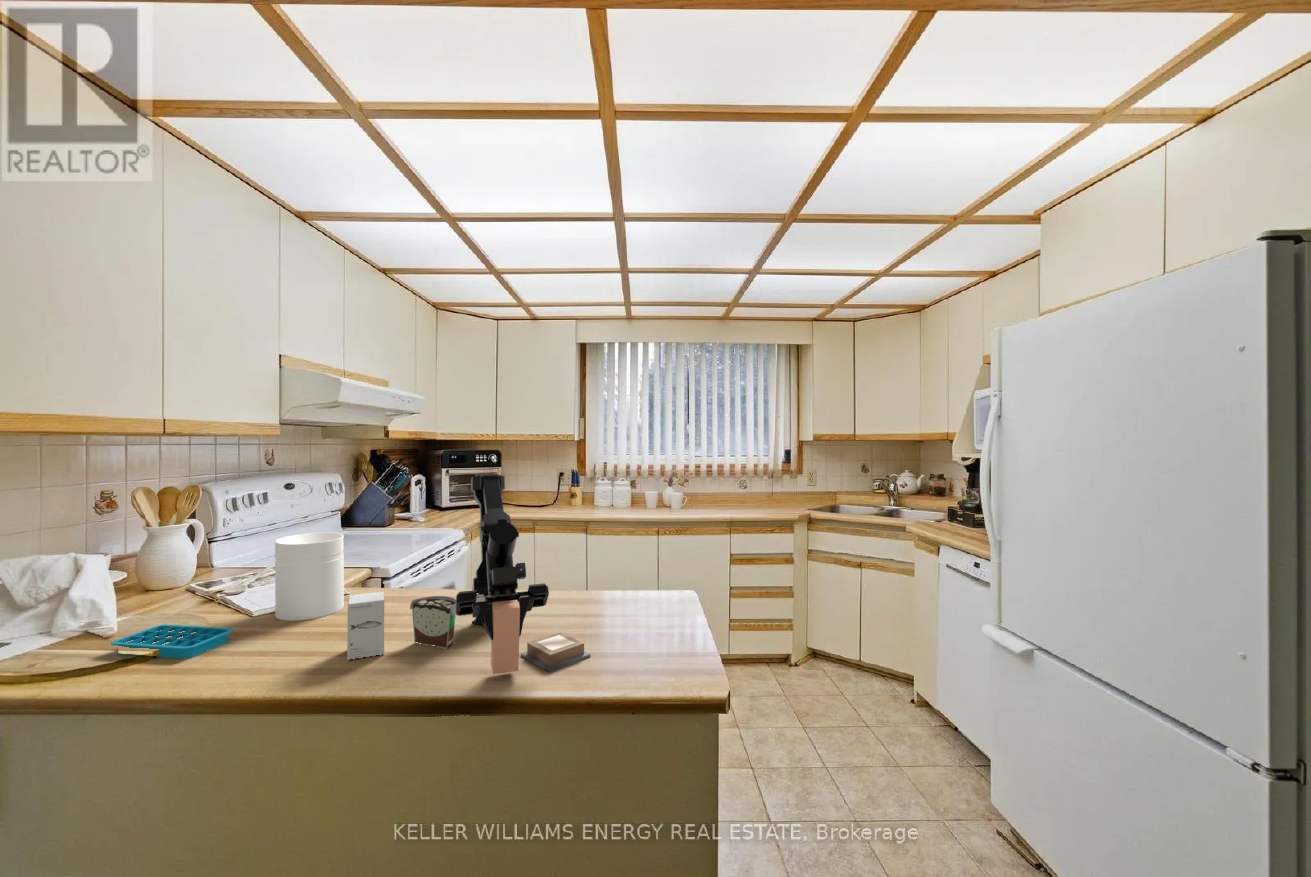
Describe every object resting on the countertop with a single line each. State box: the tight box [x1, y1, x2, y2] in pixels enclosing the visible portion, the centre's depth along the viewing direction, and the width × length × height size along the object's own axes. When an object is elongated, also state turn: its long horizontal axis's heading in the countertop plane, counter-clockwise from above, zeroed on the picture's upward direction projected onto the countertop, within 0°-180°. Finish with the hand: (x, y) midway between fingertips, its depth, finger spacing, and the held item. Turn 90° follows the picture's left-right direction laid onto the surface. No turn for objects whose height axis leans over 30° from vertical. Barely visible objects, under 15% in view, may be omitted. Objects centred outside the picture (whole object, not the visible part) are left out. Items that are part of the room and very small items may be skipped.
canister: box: [274, 532, 345, 622], centre depth 150 cm, size 16×16×20 cm
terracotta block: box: [490, 600, 520, 675], centre depth 112 cm, size 5×5×13 cm
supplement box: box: [346, 591, 385, 661], centre depth 122 cm, size 7×7×13 cm
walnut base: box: [520, 631, 591, 673], centre depth 122 cm, size 11×11×3 cm
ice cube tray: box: [110, 624, 234, 659], centre depth 124 cm, size 12×20×3 cm, turn 83°
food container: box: [409, 595, 457, 650], centre depth 129 cm, size 12×6×10 cm, turn 71°
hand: (506, 637), depth 110 cm, fingers closed on terracotta block, 5 cm apart
